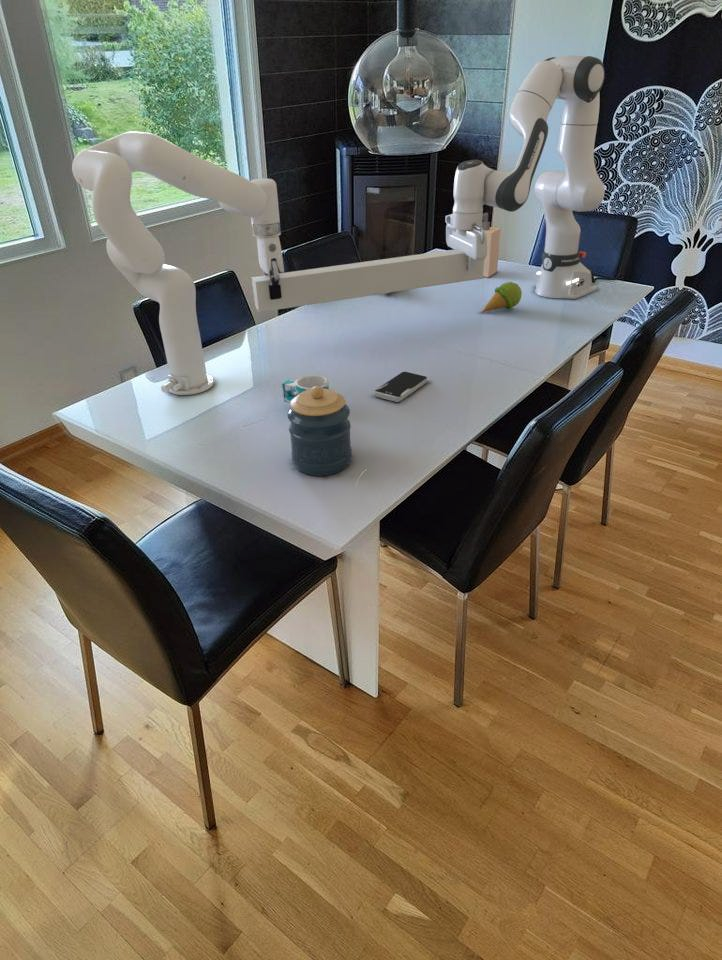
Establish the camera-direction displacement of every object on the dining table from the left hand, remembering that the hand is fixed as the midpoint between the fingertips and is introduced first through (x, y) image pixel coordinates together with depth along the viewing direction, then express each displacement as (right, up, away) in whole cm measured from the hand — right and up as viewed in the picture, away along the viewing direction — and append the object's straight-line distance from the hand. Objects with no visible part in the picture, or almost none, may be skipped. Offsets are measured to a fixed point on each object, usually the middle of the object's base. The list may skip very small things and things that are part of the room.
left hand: (273, 295), depth 190 cm
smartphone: (+35, -29, -15) cm, 48 cm away
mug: (+12, -35, -24) cm, 44 cm away
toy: (+71, +7, +31) cm, 78 cm away
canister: (+17, -48, -44) cm, 68 cm away
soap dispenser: (+71, +27, +68) cm, 102 cm away
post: (+29, +4, +10) cm, 31 cm away
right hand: (+57, +13, +17) cm, 61 cm away
